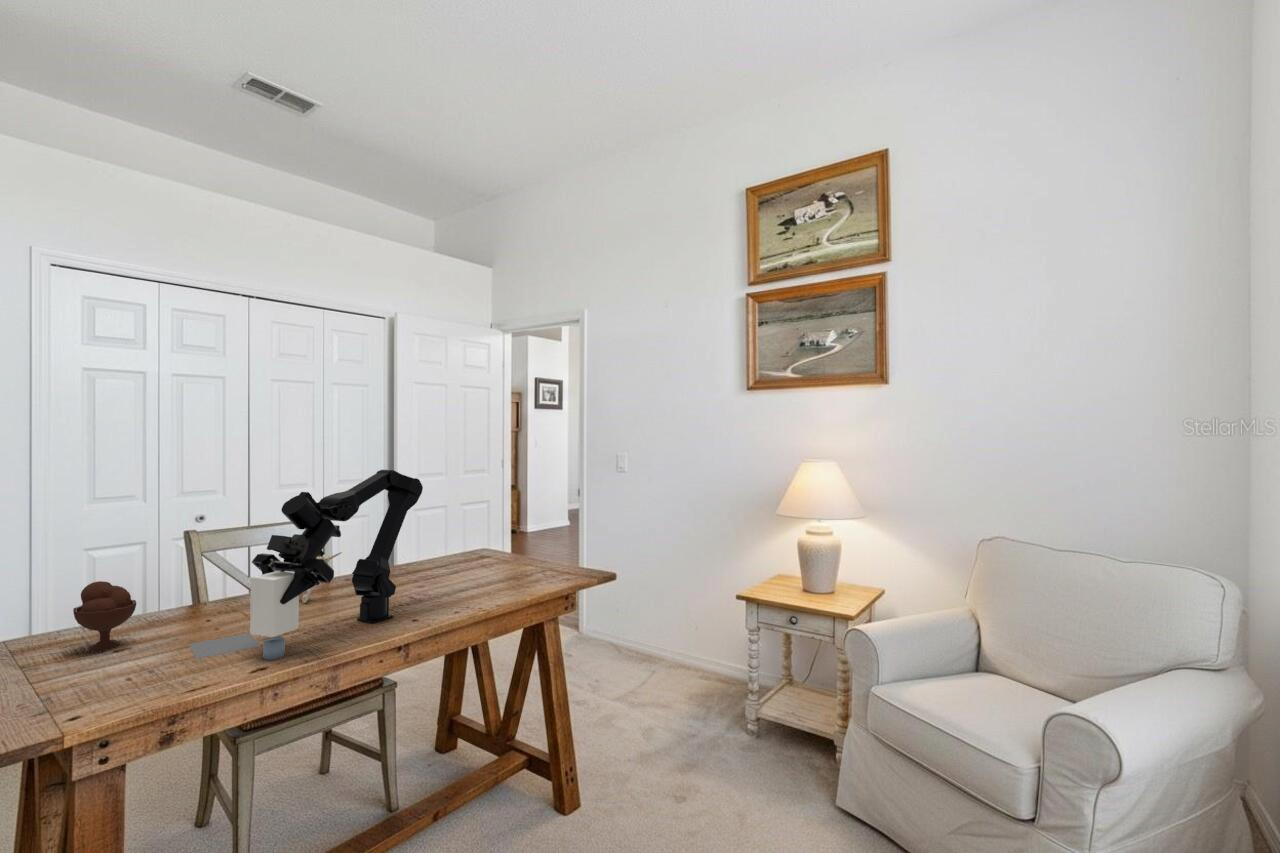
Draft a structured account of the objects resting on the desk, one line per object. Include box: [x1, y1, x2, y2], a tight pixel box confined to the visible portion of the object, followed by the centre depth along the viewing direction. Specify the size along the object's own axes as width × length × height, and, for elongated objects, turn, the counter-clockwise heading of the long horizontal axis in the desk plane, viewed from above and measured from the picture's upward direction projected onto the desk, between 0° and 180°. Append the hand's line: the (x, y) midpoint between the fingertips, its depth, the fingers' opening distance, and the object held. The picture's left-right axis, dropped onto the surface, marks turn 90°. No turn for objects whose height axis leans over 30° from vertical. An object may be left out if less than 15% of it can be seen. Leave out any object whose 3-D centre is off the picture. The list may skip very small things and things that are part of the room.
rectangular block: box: [249, 571, 300, 638], centre depth 135 cm, size 6×6×12 cm
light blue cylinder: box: [262, 636, 286, 661], centre depth 135 cm, size 4×4×4 cm
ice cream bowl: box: [72, 580, 138, 653], centre depth 139 cm, size 11×11×15 cm
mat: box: [187, 632, 262, 660], centre depth 141 cm, size 12×12×1 cm
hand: (269, 601), depth 134 cm, fingers closed on rectangular block, 6 cm apart
